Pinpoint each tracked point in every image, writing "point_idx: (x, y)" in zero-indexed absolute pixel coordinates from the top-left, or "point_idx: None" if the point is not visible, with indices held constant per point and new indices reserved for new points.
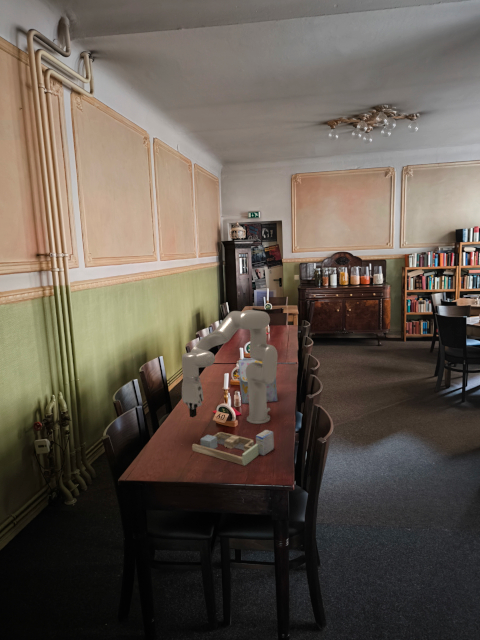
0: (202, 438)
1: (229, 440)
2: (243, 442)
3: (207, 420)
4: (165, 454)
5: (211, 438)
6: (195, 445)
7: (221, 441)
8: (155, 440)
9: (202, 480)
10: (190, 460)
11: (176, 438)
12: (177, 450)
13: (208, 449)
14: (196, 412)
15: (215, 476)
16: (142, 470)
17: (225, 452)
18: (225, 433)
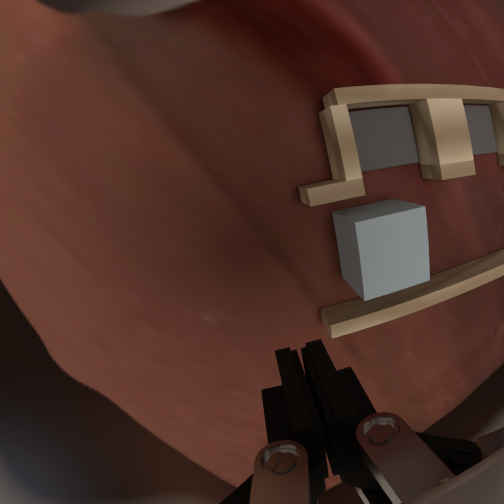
0: (369, 287)
1: (456, 157)
2: (466, 101)
3: (62, 25)
4: (246, 414)
5: (414, 246)
6: (355, 331)
7: (369, 140)
8: (81, 369)
9: (475, 387)
10: (379, 370)
11: (121, 294)
12: (255, 368)
13: (433, 303)
14: (356, 378)
15: (496, 351)
16: None
17: (500, 266)
18: (377, 92)
